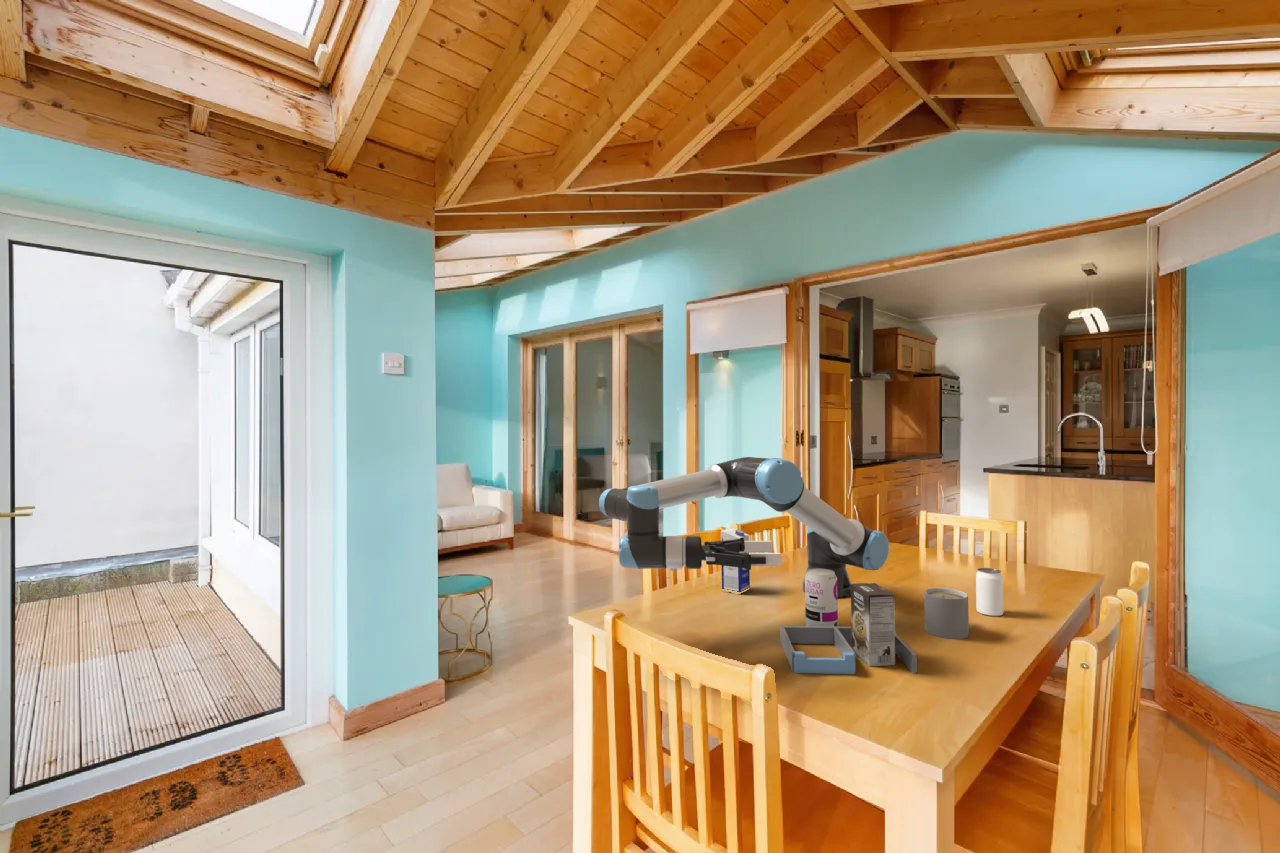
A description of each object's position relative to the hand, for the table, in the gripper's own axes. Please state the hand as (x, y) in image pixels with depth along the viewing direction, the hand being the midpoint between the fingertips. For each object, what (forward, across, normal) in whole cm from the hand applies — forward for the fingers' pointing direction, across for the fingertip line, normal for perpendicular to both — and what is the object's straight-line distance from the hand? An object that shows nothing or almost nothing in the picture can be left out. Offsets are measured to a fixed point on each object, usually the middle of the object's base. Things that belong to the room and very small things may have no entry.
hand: (776, 552), depth 135 cm
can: (+64, -32, -24) cm, 75 cm away
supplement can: (+14, -19, -24) cm, 34 cm away
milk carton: (-5, -53, -24) cm, 59 cm away
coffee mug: (+46, -19, -24) cm, 56 cm away
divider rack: (+15, 0, -24) cm, 28 cm away
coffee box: (+22, 0, -24) cm, 33 cm away
